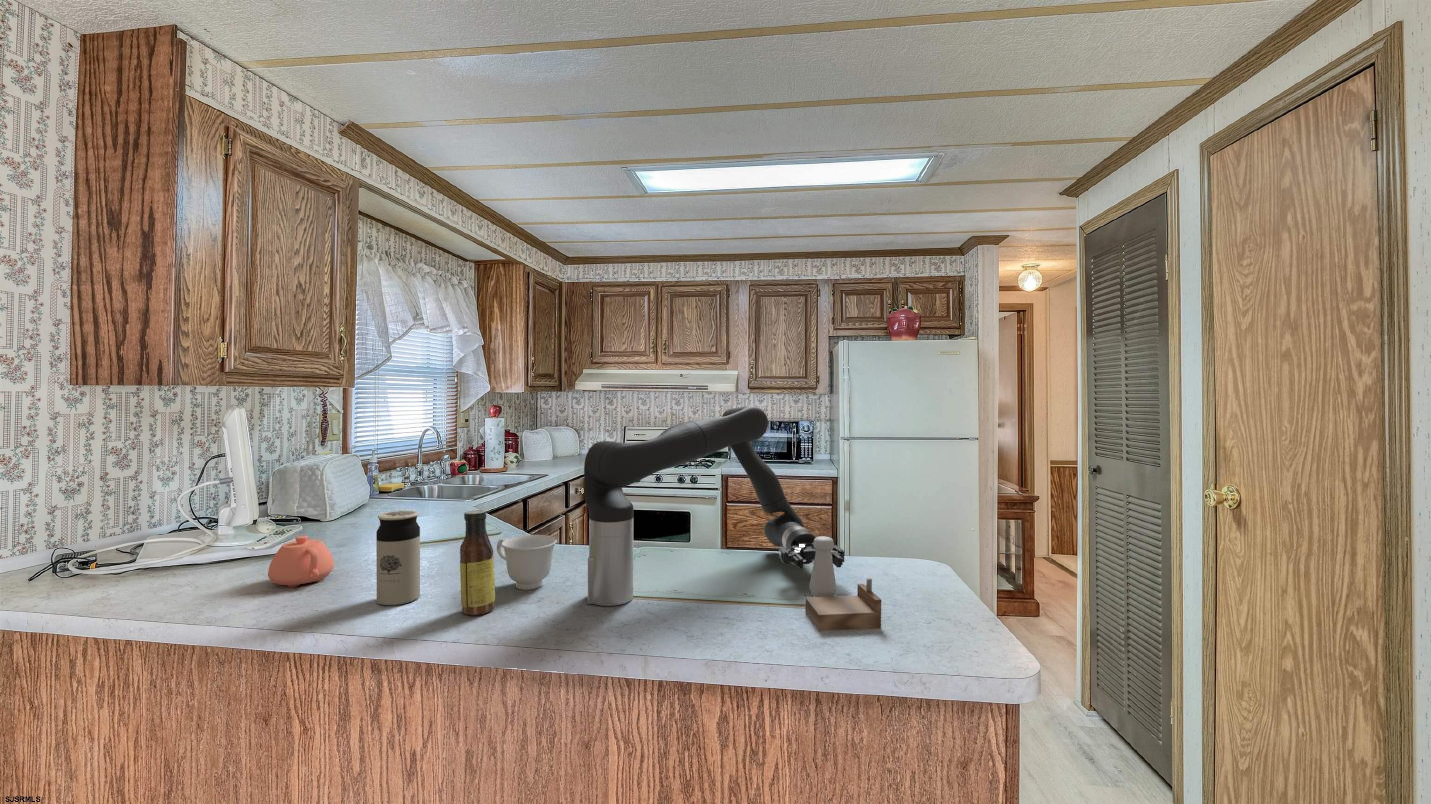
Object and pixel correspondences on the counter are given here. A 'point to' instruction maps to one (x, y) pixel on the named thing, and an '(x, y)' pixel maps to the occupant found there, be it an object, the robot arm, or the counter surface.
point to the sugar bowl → (300, 562)
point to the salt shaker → (823, 569)
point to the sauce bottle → (476, 566)
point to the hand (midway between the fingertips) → (820, 563)
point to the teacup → (527, 558)
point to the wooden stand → (846, 610)
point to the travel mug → (398, 558)
